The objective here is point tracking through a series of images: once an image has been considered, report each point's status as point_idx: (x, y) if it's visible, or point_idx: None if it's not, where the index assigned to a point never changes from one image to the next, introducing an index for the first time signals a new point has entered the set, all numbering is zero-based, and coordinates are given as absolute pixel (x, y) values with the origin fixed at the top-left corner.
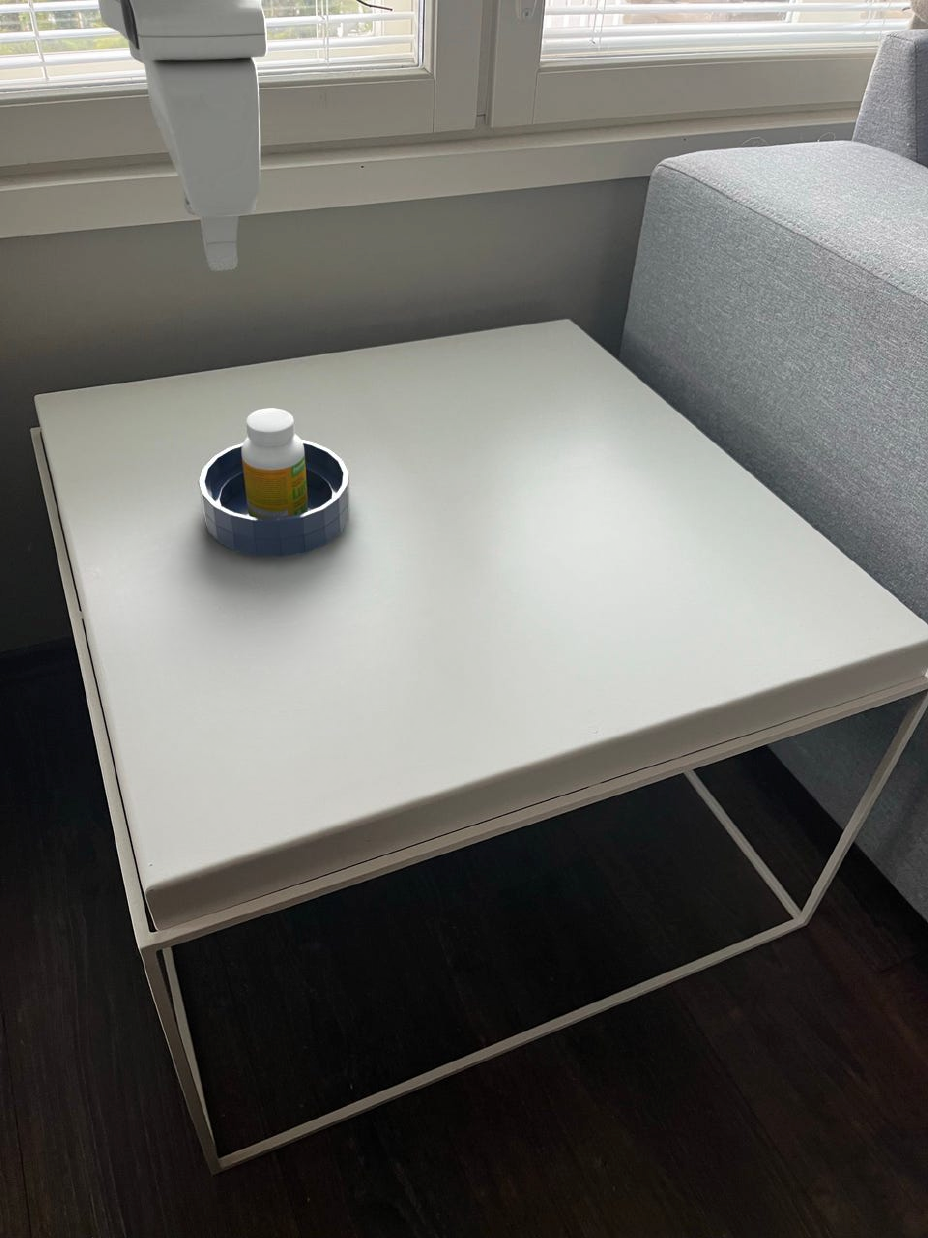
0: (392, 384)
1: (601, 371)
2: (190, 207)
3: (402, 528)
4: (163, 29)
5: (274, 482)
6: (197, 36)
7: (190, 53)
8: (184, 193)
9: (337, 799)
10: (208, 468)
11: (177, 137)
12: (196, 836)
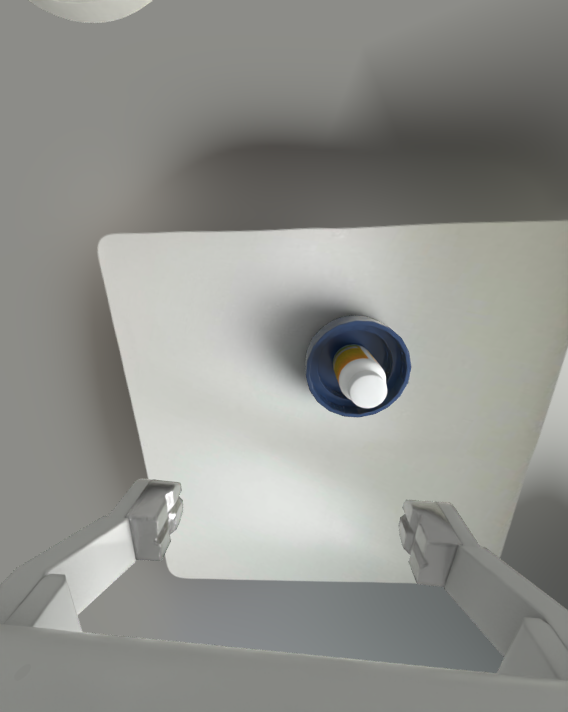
0: (471, 470)
1: None
2: (410, 511)
3: (313, 422)
4: None
5: (338, 370)
6: None
7: None
8: (424, 531)
9: (126, 328)
10: (387, 331)
11: None
12: (115, 258)
